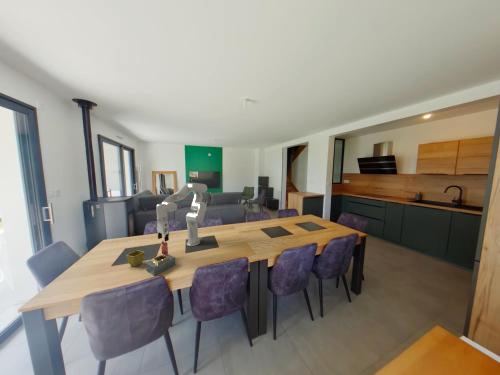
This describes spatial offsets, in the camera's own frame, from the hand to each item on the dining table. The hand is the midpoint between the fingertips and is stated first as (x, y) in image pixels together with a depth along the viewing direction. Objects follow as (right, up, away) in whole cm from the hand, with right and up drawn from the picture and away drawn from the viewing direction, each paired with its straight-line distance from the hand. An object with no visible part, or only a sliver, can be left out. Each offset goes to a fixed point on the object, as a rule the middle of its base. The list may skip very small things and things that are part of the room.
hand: (163, 239), depth 136 cm
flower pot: (-18, -18, -6) cm, 26 cm away
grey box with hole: (+4, -17, -11) cm, 21 cm away
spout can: (0, -16, +2) cm, 16 cm away
